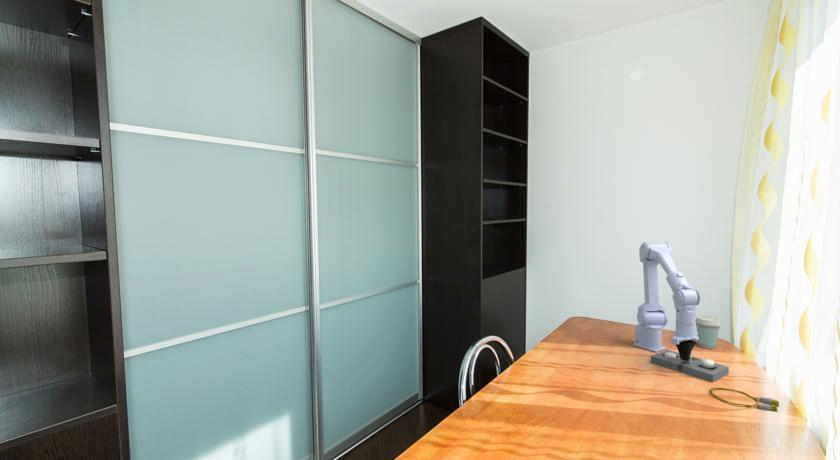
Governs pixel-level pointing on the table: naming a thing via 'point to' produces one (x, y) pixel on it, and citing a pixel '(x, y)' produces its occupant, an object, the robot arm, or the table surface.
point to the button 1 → (670, 355)
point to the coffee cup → (707, 331)
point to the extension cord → (760, 406)
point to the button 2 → (707, 363)
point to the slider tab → (688, 360)
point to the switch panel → (690, 366)
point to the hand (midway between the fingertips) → (684, 359)
